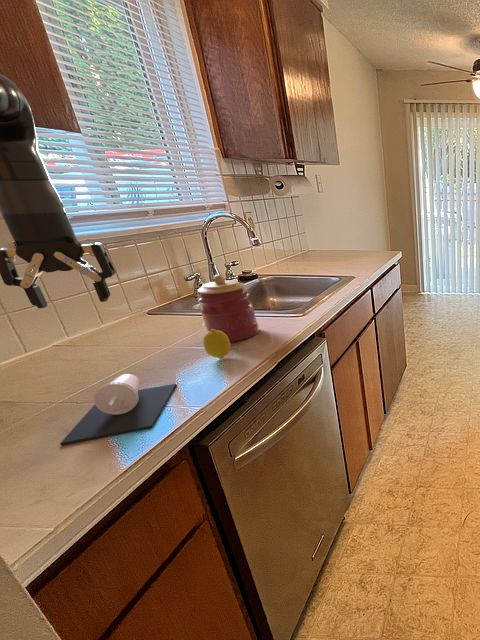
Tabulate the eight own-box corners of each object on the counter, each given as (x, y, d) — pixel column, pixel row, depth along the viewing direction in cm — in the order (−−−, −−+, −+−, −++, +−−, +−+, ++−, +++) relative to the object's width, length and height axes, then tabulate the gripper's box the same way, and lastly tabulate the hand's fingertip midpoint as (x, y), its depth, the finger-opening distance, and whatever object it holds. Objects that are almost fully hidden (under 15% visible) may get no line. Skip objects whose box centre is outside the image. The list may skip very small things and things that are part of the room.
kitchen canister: (198, 342, 112) (177, 279, 104) (232, 326, 123) (215, 269, 116) (238, 344, 110) (220, 281, 102) (269, 328, 121) (255, 270, 114)
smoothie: (145, 366, 84) (129, 390, 72) (149, 394, 86) (135, 422, 74) (104, 368, 81) (81, 393, 69) (110, 398, 82) (88, 427, 71)
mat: (61, 445, 68) (59, 443, 68) (103, 397, 83) (102, 395, 83) (152, 428, 73) (151, 425, 73) (176, 385, 88) (176, 383, 88)
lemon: (223, 364, 98) (214, 333, 95) (203, 362, 99) (193, 332, 96) (239, 355, 103) (230, 325, 100) (220, 353, 104) (211, 325, 101)
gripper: (-41, 213, 60) (11, 315, 67) (82, 209, 67) (119, 303, 73) (-16, 210, 66) (30, 304, 73) (95, 207, 73) (128, 294, 79)
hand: (74, 303), depth 73 cm, fingers open, 8 cm apart
